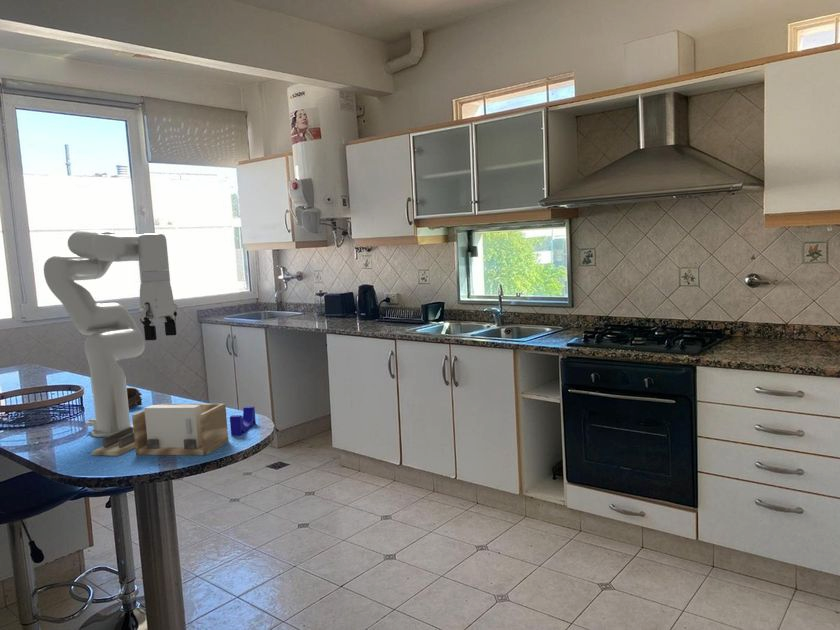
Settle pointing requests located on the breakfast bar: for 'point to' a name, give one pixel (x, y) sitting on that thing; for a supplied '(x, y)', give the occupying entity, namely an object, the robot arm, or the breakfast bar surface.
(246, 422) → the cable clip
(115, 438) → the door stand
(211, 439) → the cabinet
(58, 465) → the breakfast bar surface
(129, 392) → the pottery mug
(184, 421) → the door
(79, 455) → the breakfast bar surface
